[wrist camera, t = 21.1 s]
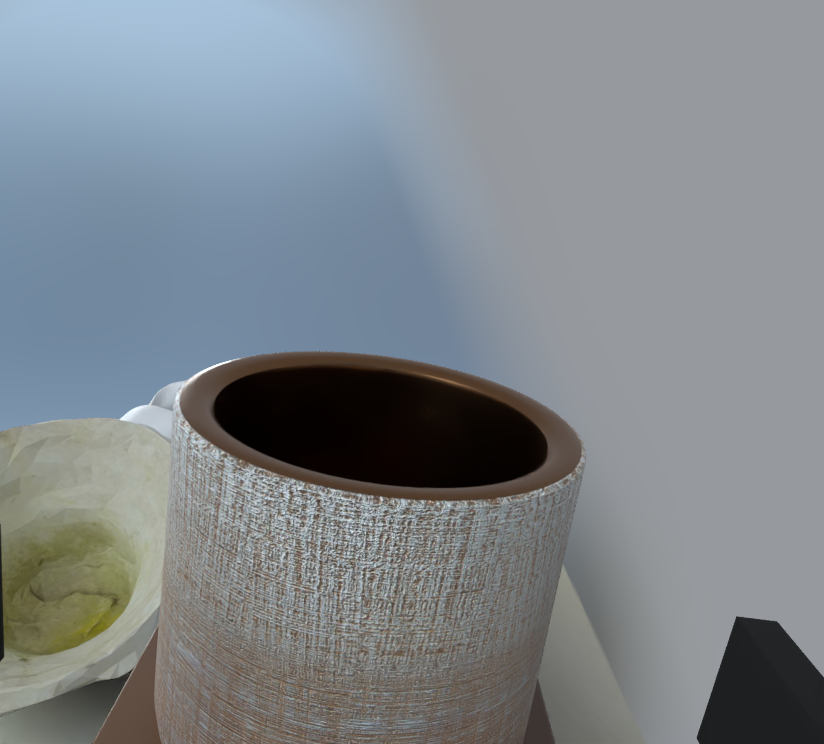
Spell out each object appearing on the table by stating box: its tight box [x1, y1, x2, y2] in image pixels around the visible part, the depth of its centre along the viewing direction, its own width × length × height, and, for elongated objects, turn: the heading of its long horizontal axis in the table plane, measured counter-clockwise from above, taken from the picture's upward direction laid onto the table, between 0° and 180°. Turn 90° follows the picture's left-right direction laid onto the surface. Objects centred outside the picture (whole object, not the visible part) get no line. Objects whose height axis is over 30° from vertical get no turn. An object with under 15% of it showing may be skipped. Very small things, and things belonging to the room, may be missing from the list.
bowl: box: [0, 418, 171, 717], centre depth 31 cm, size 15×14×10 cm
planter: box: [154, 351, 586, 744], centre depth 19 cm, size 11×11×10 cm
